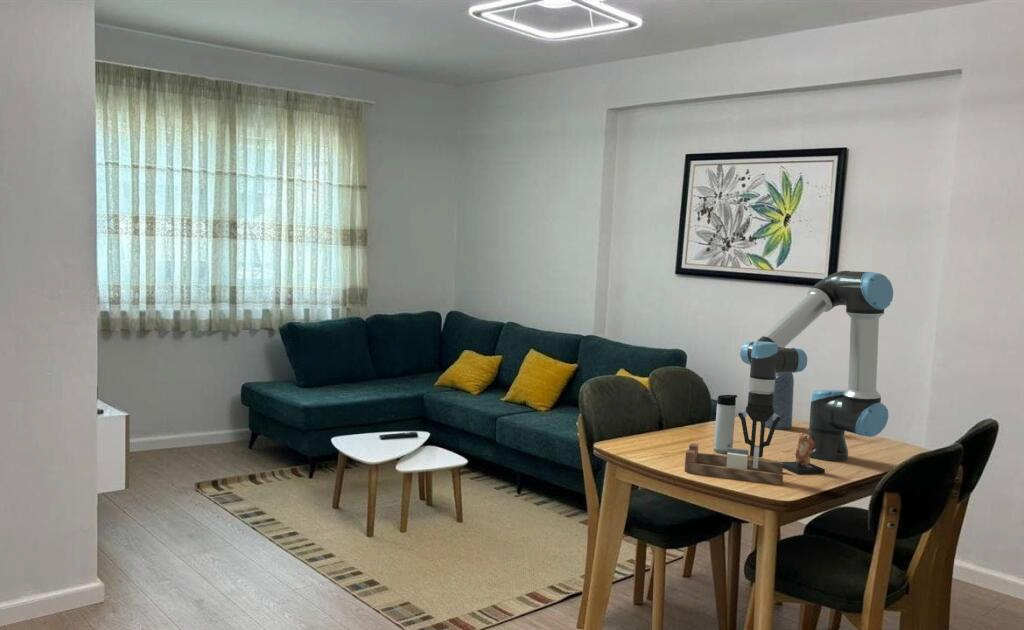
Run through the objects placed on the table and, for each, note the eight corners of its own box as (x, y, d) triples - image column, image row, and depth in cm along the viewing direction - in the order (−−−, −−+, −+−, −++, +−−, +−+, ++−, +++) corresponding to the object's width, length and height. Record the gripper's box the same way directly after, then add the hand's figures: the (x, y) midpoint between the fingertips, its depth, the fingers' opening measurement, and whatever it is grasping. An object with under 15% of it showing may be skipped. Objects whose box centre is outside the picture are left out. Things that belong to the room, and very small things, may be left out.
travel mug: (733, 454, 289) (738, 396, 287) (713, 452, 290) (718, 395, 288) (732, 450, 295) (736, 393, 293) (713, 448, 296) (717, 392, 294)
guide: (782, 471, 268) (783, 453, 268) (782, 485, 252) (783, 465, 252) (689, 460, 277) (691, 442, 276) (683, 472, 261) (685, 453, 260)
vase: (762, 428, 338) (767, 358, 336) (758, 422, 350) (763, 354, 348) (793, 430, 336) (799, 360, 334) (788, 424, 348) (794, 357, 346)
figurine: (824, 474, 269) (827, 436, 268) (797, 474, 266) (800, 437, 265) (805, 465, 279) (808, 430, 278) (778, 466, 276) (781, 430, 275)
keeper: (747, 471, 266) (749, 448, 266) (746, 475, 260) (748, 452, 260) (726, 468, 268) (728, 446, 267) (725, 472, 262) (726, 449, 262)
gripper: (783, 392, 262) (777, 467, 264) (740, 388, 266) (734, 461, 268) (783, 395, 255) (777, 472, 257) (739, 391, 259) (733, 467, 261)
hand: (755, 467), depth 262 cm, fingers closed
